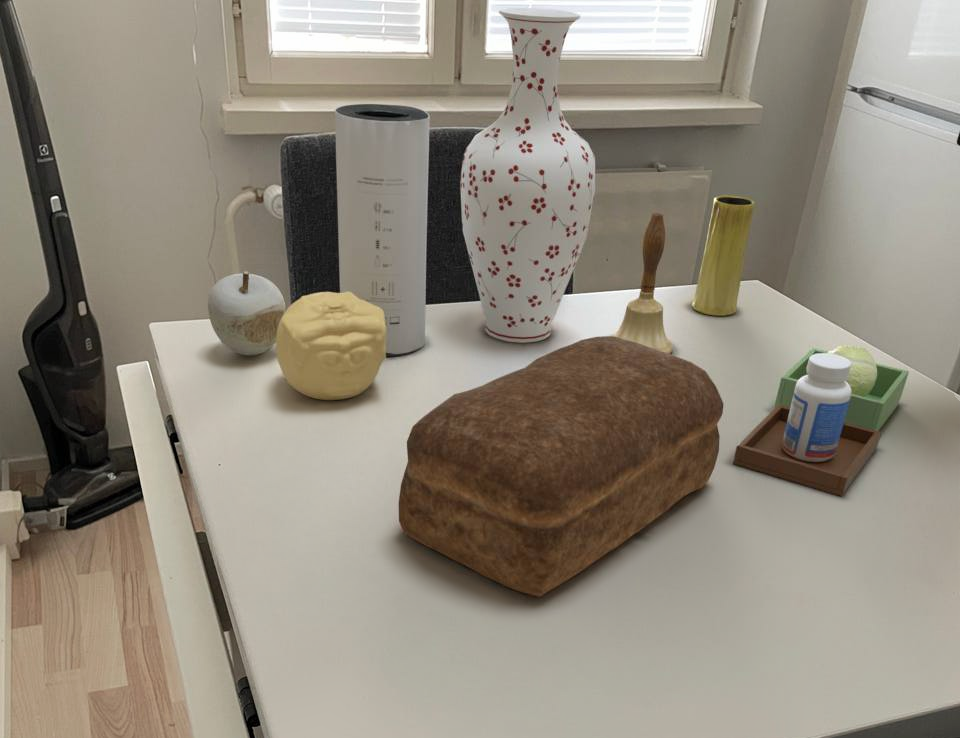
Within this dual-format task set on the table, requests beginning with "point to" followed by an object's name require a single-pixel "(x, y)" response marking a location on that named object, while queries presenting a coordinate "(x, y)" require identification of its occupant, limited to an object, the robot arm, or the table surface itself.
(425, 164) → the speaker
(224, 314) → the decorative object
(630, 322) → the hand bell
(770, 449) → the walnut tray
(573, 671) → the table surface
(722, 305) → the vase
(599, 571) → the table surface
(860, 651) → the table surface
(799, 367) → the green bin
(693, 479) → the bread
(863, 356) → the tennis ball
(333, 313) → the sculpture
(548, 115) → the vase
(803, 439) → the pill bottle
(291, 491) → the table surface
